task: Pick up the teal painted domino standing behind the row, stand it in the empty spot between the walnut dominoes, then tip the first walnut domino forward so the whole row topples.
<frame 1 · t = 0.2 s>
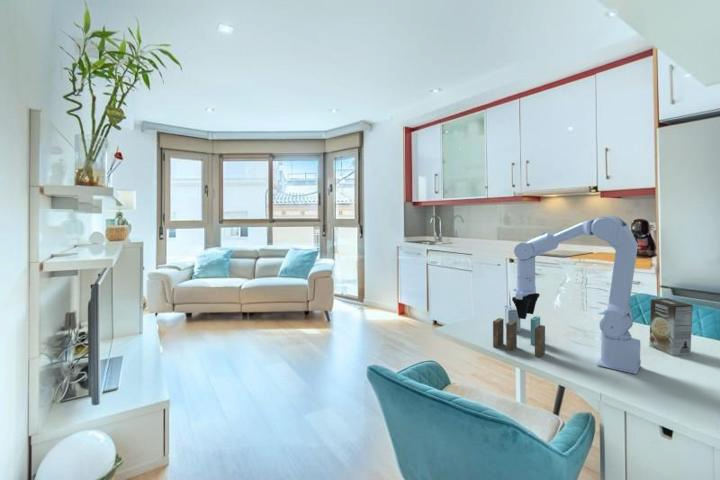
hand: (526, 316, 128), 10 cm above the table, tool pointing down, fingers open, 7 cm apart
medicine box: (512, 329, 146), on the table
end domino: (498, 345, 128), on the table
coffee box: (669, 351, 119), on the table
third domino: (511, 348, 125), on the table
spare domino: (535, 343, 129), on the table
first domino: (539, 354, 119), on the table
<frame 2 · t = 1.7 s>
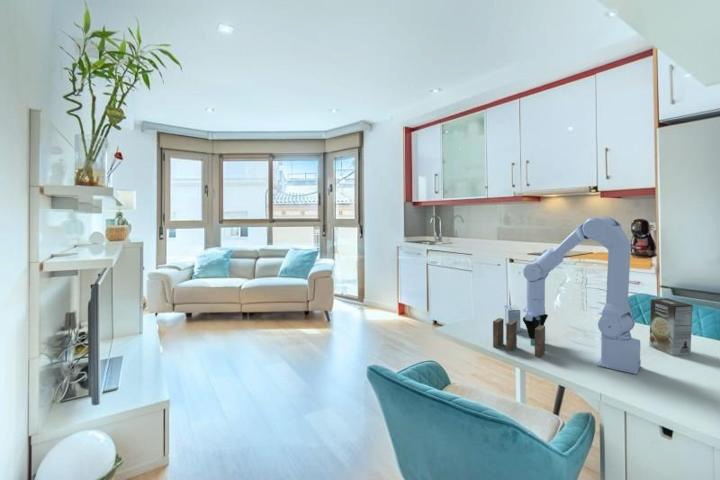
hand: (535, 336, 129), 2 cm above the table, tool pointing down, fingers closed on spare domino, 5 cm apart
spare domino: (535, 343, 129), on the table, touching gripper
everything else where it was.
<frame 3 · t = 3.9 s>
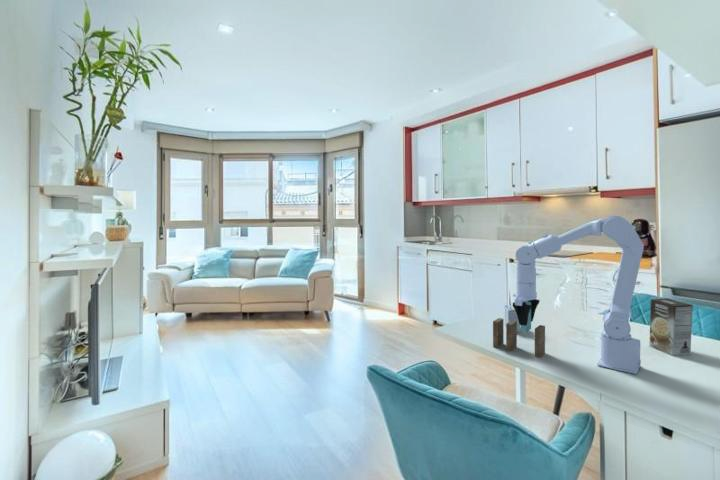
hand: (526, 322, 122), 9 cm above the table, tool pointing down, fingers closed on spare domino, 5 cm apart
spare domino: (525, 330, 122), point 7 cm above the table, touching gripper
everything else where it was.
when the fingers open (3 cm above the table, at t = 6.0 s): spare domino stays where it is, on the table.
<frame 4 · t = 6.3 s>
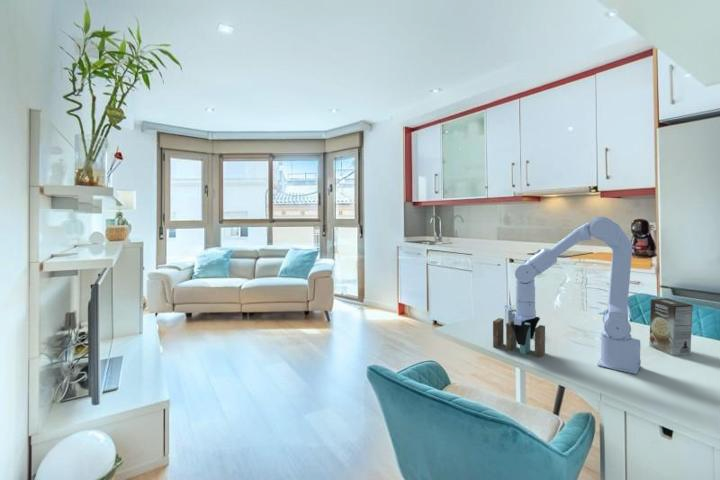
hand: (525, 341, 122), 3 cm above the table, tool pointing down, fingers open, 7 cm apart
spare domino: (525, 351, 122), on the table
everything else where it was.
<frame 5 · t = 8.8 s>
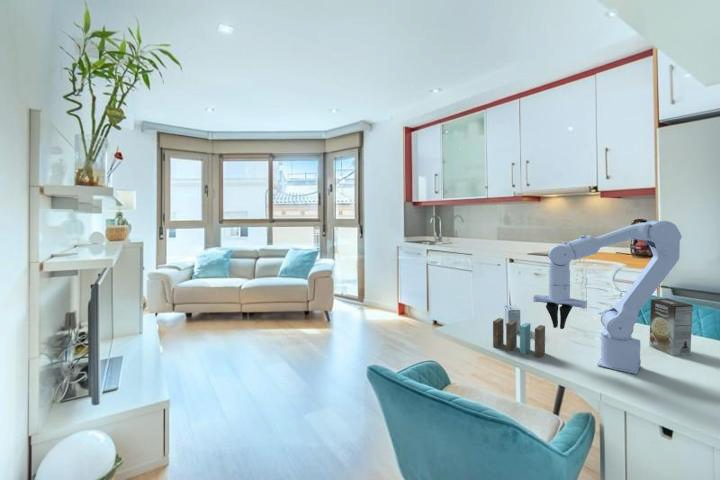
hand: (558, 327, 115), 10 cm above the table, tool pointing down, fingers closed
nothing on the table moved.
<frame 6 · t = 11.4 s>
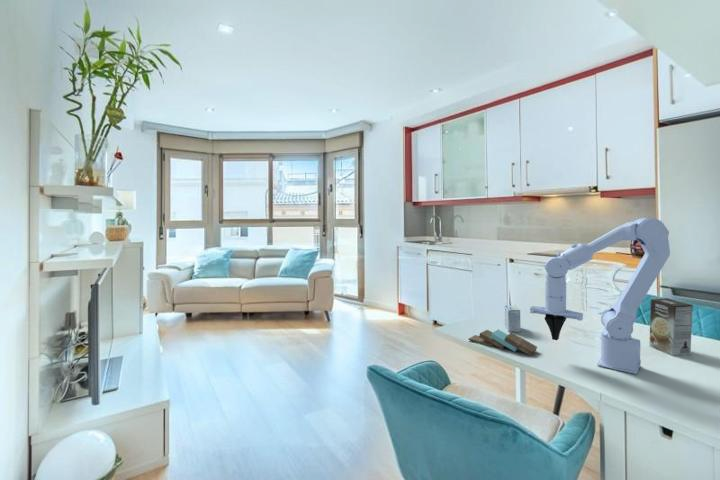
hand: (555, 339, 115), 6 cm above the table, tool pointing down, fingers closed
end domino: (495, 344, 129), on the table, tilted 90°, touching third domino
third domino: (506, 345, 126), point 1 cm above the table, tilted 76°, touching end domino, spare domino
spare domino: (518, 347, 123), point 1 cm above the table, tilted 69°, touching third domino
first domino: (534, 351, 120), point 1 cm above the table, tilted 69°
everything else where it was.
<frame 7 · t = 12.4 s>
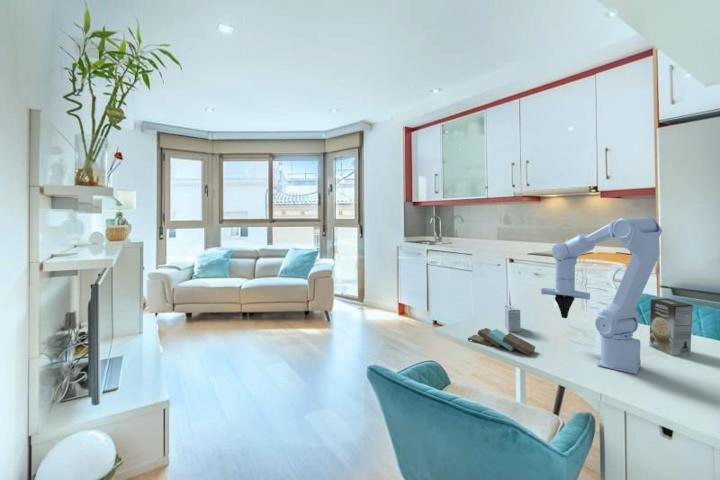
hand: (564, 317, 127), 9 cm above the table, tool pointing down, fingers closed
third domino: (503, 344, 127), point 1 cm above the table, tilted 74°, touching end domino, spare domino
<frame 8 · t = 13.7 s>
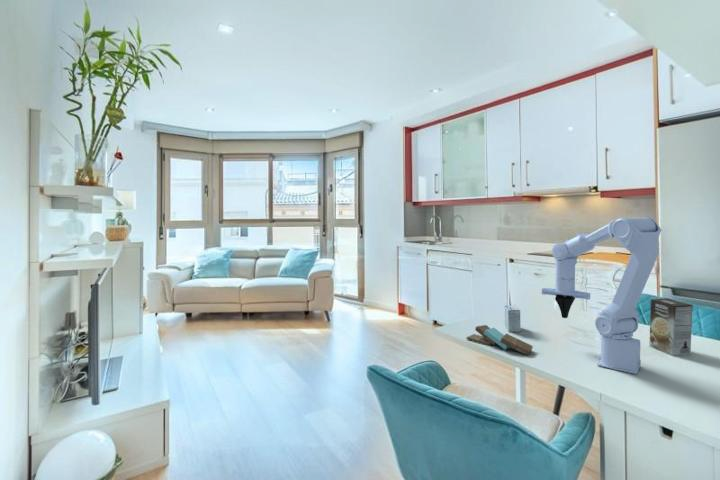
hand: (564, 317, 127), 9 cm above the table, tool pointing down, fingers closed
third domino: (499, 342, 128), point 1 cm above the table, tilted 70°, touching end domino, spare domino
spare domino: (510, 346, 124), point 1 cm above the table, tilted 68°, touching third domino
at the end: end domino tilted 90°; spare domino inside the target area (0.9 cm from its centre), point 0.9 cm above the table; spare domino tilted 67° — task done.
